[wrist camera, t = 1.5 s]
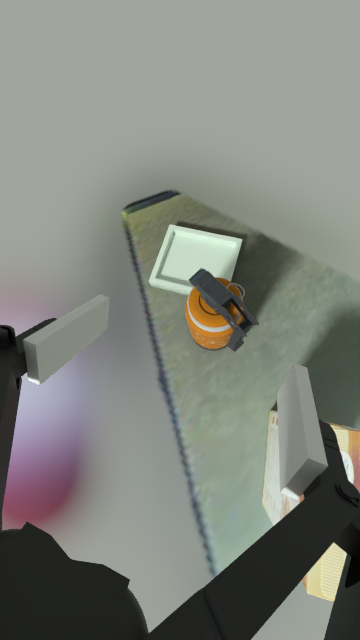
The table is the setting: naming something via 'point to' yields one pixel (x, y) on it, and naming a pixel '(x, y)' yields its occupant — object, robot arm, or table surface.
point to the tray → (193, 258)
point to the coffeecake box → (356, 455)
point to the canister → (217, 312)
